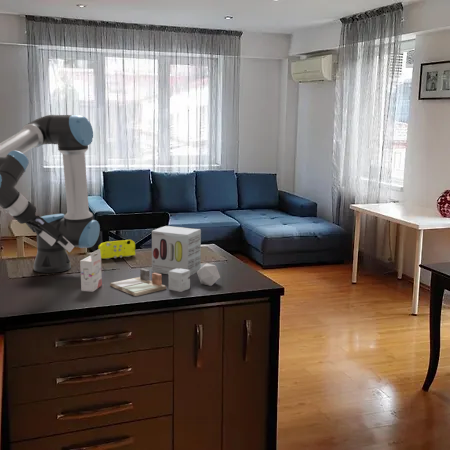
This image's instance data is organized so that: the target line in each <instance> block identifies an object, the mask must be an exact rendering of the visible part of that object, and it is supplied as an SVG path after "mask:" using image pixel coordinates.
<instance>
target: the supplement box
mask: <svg viewBox="0 0 450 450" xmlns="http://www.w3.org/2000/svg"><path fill="white" fill-rule="evenodd" d="M201 233H202V230H201V228H193V227H192V228H190V227H183V226H181V227H180V226H171V225H165V226H160V227H158V228H156V229H154V230H151V273H155V272H156V273H159V274H164V275H169V271H171V270H173V269H177V268H181V269H187V270H190V277H191V276H192V275H194V274H197V271H198V270H199V269H200V268H201V267H202V265H201V262H202V260H201V259H202V257H201V256H202V255H201V254H202V253H201V252H202V251H201V247H202V244H201V243H202V241H201V240H202V239H201V238H202V234H201Z"/></svg>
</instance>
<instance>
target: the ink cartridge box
mask: <svg viewBox="0 0 450 450" xmlns="http://www.w3.org/2000/svg"><path fill="white" fill-rule="evenodd" d="M79 264H80V265H79V267H80V287H81V288H80V289H81V292H94V291H96V290H98V289H99V288H100V287H101V286H103V285H102V284H103V283H102V279H103V278H102V277H103V275H102V258H101V254H100V249H97V250H94V251H93V252H91V253H90V255H89V256H87V257H85V258H83V259H81V260H79Z"/></svg>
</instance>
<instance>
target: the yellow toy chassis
mask: <svg viewBox="0 0 450 450" xmlns="http://www.w3.org/2000/svg"><path fill="white" fill-rule="evenodd" d="M97 246H98V247H97V248H98V249H100V254H101V260H102V259H104V260H110V259H112V258H114V259H117V258H121V259H122V258H123V257H124V258H130V257H131V256H136V242H135V241H134V240H132V239H125V240H124V239H122V240H113V241H111V240H110V241H105V242H101V243H100V244H99V245H97ZM98 249H97V250H98Z"/></svg>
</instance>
